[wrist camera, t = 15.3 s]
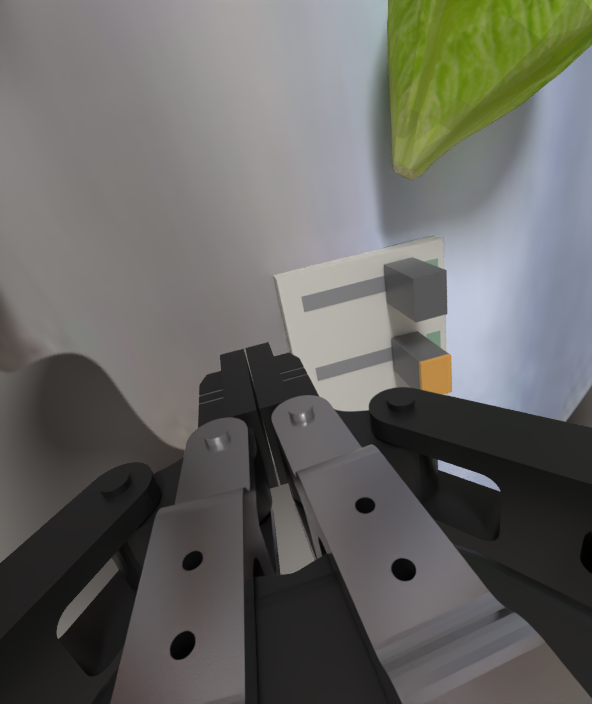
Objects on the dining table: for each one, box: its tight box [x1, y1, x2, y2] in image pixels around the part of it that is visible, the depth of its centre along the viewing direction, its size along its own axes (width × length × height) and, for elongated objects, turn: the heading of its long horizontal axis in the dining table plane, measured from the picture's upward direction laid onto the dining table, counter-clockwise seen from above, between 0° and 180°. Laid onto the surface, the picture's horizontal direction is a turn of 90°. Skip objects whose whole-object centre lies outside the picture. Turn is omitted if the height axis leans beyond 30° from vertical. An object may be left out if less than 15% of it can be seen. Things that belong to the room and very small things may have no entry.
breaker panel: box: [273, 236, 448, 411], centre depth 43 cm, size 17×22×2 cm
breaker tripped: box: [391, 331, 452, 395], centre depth 39 cm, size 3×4×6 cm
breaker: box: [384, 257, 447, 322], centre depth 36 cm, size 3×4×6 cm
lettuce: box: [387, 0, 592, 180], centre depth 28 cm, size 15×22×15 cm
